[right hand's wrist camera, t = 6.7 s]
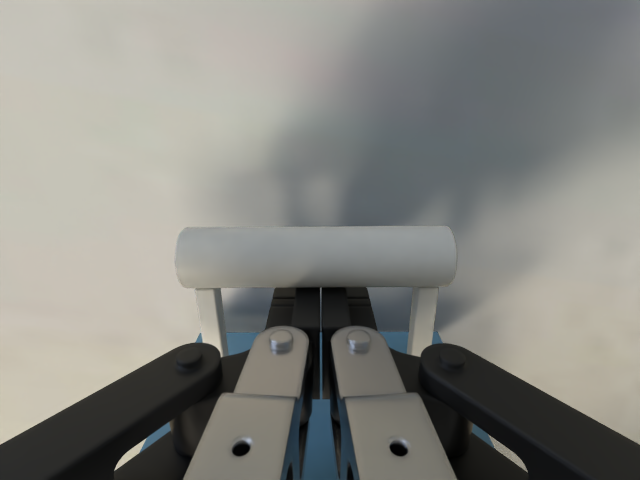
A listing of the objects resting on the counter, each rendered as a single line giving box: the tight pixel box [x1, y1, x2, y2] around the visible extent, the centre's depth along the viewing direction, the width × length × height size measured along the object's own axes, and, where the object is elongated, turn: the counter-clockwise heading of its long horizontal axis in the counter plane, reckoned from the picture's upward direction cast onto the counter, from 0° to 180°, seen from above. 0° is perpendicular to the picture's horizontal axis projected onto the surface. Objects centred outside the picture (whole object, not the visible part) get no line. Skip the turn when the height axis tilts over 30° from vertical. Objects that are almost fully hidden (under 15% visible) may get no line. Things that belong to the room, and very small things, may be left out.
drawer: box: [140, 226, 495, 480], centre depth 14 cm, size 21×10×7 cm, turn 0°
